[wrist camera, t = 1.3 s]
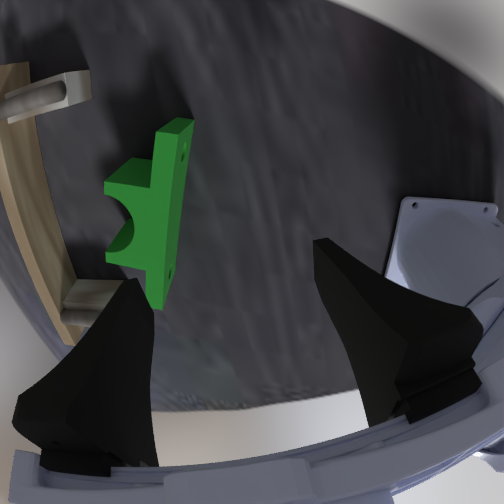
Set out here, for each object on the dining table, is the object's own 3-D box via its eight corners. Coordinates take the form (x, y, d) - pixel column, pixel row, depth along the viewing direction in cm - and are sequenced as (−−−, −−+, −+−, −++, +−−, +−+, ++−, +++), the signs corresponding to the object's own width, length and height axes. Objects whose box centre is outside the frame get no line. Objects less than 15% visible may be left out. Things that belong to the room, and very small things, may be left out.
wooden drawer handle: (88, 40, 14) (51, 39, 11) (140, 316, 26) (126, 353, 22) (17, 66, 14) (-23, 73, 11) (80, 313, 26) (63, 345, 23)
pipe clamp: (137, 111, 17) (106, 125, 13) (195, 119, 18) (179, 133, 14) (128, 260, 23) (108, 299, 19) (175, 270, 24) (162, 311, 20)
